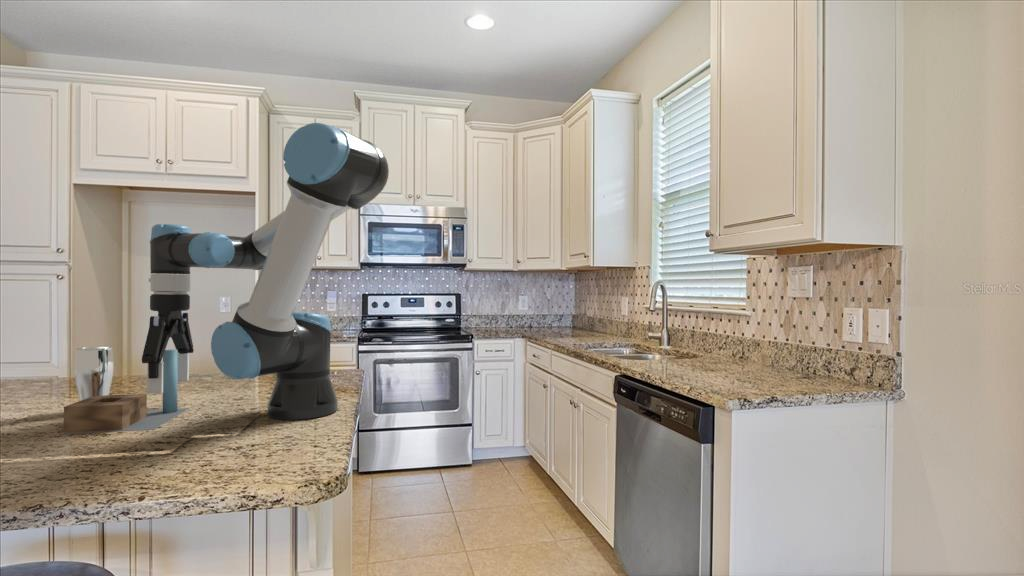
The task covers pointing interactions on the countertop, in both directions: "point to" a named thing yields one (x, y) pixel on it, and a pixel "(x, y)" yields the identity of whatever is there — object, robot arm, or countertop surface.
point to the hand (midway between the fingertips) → (169, 386)
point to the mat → (146, 421)
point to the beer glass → (93, 371)
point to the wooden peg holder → (105, 413)
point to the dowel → (170, 380)
